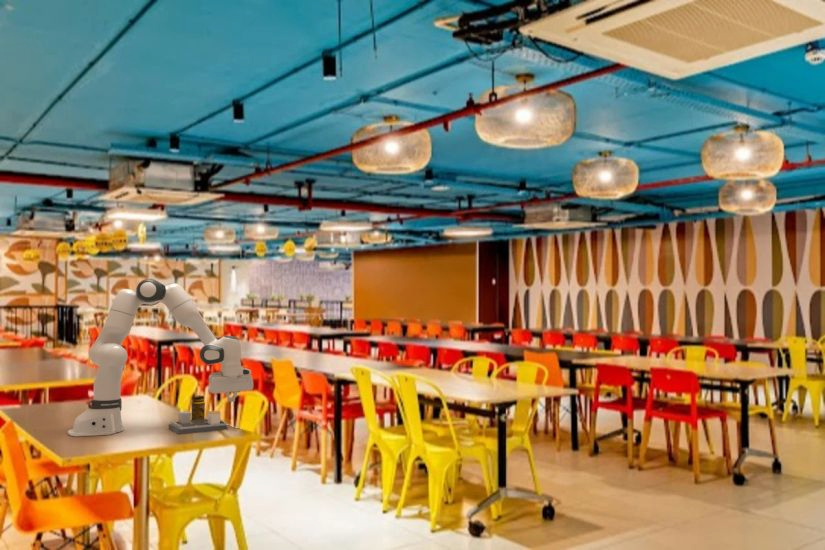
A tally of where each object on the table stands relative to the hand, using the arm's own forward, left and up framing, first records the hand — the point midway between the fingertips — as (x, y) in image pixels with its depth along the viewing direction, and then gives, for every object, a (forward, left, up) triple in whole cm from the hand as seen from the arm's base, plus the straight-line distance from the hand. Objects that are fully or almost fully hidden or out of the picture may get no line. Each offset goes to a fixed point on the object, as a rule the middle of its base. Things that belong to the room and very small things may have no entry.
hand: (231, 401), depth 337 cm
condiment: (-9, +22, -12) cm, 27 cm away
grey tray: (-14, +3, -12) cm, 19 cm away
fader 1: (-19, +7, -9) cm, 22 cm away
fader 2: (-8, 0, -9) cm, 12 cm away
